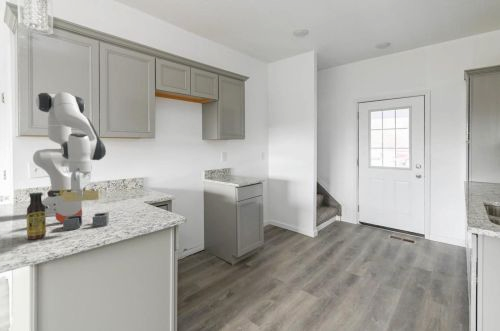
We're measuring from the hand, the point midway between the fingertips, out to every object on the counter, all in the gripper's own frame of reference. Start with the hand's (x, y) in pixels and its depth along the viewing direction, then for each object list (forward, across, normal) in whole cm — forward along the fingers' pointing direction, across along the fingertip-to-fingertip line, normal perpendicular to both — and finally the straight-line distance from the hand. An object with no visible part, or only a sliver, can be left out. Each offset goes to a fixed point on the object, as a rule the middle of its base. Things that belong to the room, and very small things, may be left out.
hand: (81, 196), depth 117 cm
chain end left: (+16, +6, +6) cm, 18 cm away
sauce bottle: (+16, -4, +16) cm, 24 cm away
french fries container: (+17, +18, +10) cm, 27 cm away
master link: (+2, 0, 0) cm, 2 cm away
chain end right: (+16, +6, -6) cm, 19 cm away
